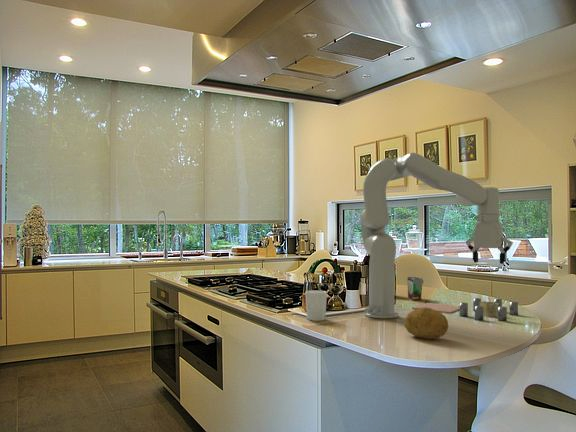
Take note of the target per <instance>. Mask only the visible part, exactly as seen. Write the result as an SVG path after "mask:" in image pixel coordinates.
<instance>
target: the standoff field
mask: <svg viewBox="0 0 576 432" xmlns="http://www.w3.org/2000/svg"><path fill="white" fill-rule="evenodd" d="M472 299H473V300H472V309H473V312H474V321H477V320H478V322H479V321H482V320H483V321H484V319H485V316H484V307H483V306H480V302H482V298H479V297H473V298H472ZM493 302H495V303H498V316H497V321H498V322H501V321H507V322H508V318H507V317H508V310H507V309H508V307H506V306H503V299H501V298H493ZM459 306H460V310H459V317H461V318H462V317H463V318H468V317H469V303H468V302H459ZM513 315H518V316H519V302H518V301H509V316H513ZM483 321H482V322H483Z"/></svg>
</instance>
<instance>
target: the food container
mask: <svg viewBox="0 0 576 432" xmlns="http://www.w3.org/2000/svg"><path fill="white" fill-rule="evenodd" d="M406 281H407V299H409V300H411V301H413V302H417V301H421V300H422V291H423V284H424V283H425V281H424V279H423V278H422V277H417V276H407V280H406Z"/></svg>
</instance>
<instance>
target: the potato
mask: <svg viewBox="0 0 576 432" xmlns="http://www.w3.org/2000/svg"><path fill="white" fill-rule="evenodd" d="M404 327H405V329H406V331H407V332H408V333H409V334H411V335H412V336H414V337H416V338H419V339H424V340H435V339H439V338H441V337H443V336H444V335H445V334H446V333H447V332H448V329H449V321H448V319H447V317H446V316H445V315H444V314H443V313H442V312H438V311H436V310H433V309H431V308H426V307H424V308H420V309H413V310H412V311H410V312H409V313H407V315H406V316H405V318H404Z"/></svg>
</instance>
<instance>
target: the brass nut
mask: <svg viewBox="0 0 576 432" xmlns="http://www.w3.org/2000/svg"><path fill="white" fill-rule="evenodd" d="M480 306H483V307H484V317H485V316H486V317H485V318H498V303H495V302H494V301H481V302H480Z"/></svg>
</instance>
